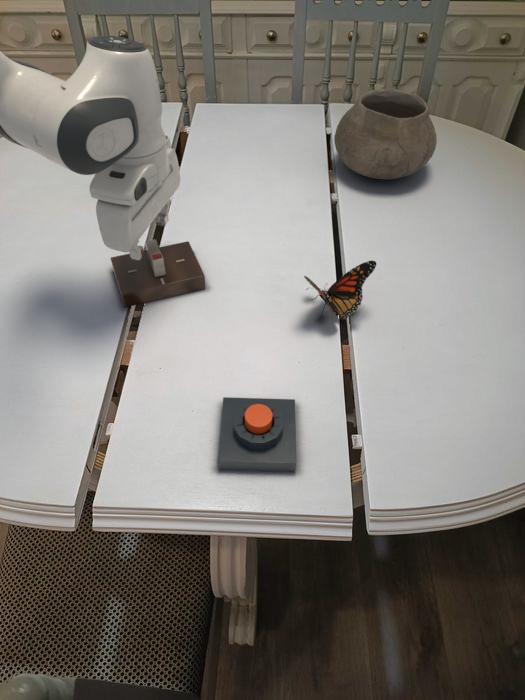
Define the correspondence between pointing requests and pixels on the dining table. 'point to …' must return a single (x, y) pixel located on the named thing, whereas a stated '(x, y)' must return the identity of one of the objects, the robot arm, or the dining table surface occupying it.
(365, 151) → the clay pot
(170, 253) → the dial panel
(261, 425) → the orange button
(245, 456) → the button box
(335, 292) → the butterfly
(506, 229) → the dining table surface
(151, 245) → the dial knob
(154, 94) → the robot arm
